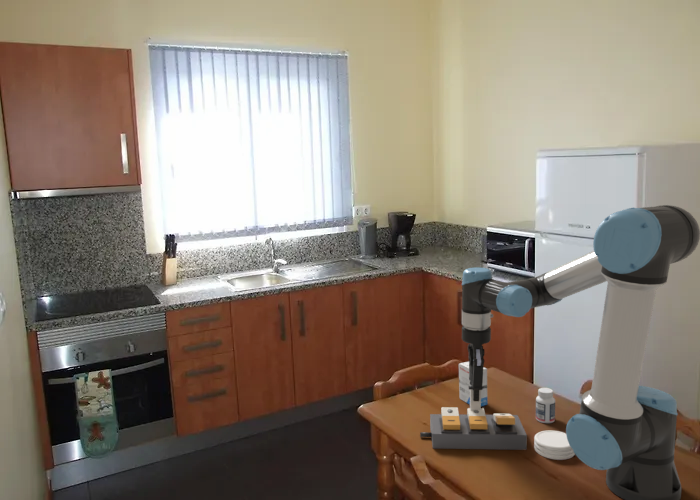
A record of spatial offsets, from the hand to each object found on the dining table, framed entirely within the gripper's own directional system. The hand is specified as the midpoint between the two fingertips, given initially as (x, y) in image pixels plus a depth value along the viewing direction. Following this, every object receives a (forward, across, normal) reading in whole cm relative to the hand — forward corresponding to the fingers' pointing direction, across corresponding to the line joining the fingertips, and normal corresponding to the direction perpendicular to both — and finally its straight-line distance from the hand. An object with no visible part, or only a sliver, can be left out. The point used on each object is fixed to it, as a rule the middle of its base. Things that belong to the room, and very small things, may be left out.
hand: (475, 410), depth 157 cm
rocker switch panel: (+7, -2, +1) cm, 8 cm away
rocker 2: (+1, -3, 0) cm, 3 cm away
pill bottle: (+8, +10, -21) cm, 25 cm away
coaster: (+7, -8, -19) cm, 22 cm away
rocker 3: (+1, -3, -7) cm, 8 cm away
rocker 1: (+1, -3, +7) cm, 8 cm away
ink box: (+8, +22, -2) cm, 23 cm away
